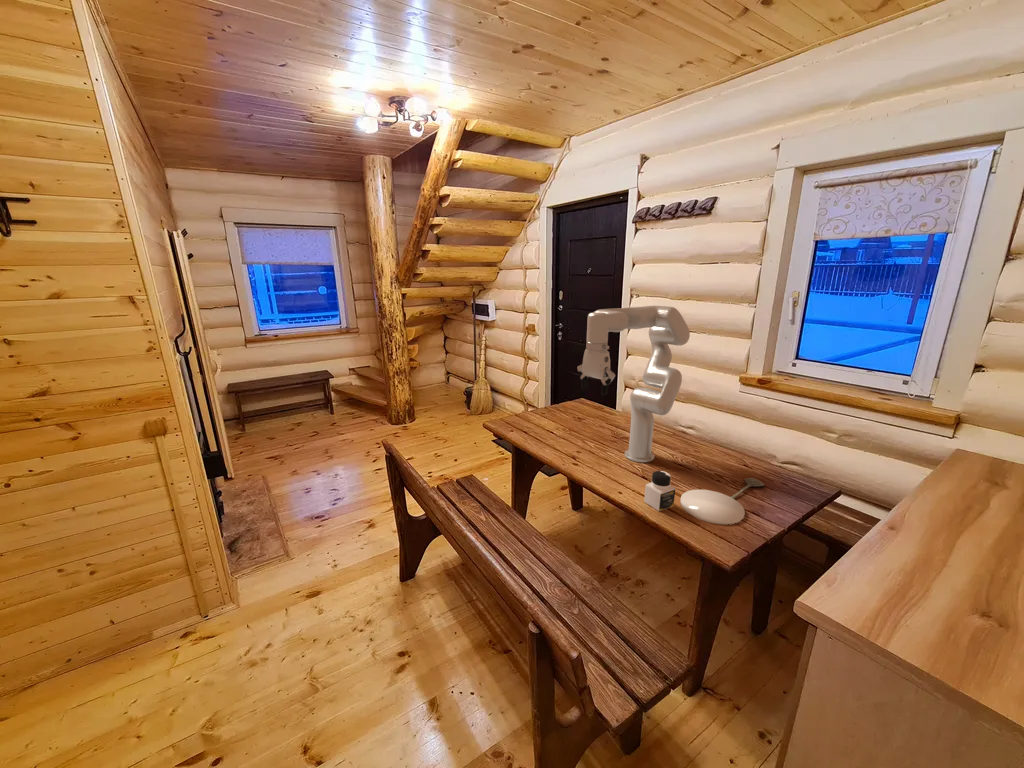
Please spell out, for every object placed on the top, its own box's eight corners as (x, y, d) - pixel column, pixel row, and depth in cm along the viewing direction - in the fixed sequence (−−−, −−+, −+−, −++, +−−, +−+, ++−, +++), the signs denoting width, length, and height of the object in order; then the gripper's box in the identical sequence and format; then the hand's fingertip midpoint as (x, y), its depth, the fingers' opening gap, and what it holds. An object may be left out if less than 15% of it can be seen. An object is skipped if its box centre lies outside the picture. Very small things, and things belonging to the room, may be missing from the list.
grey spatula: (767, 487, 155) (749, 481, 160) (768, 479, 155) (750, 473, 160) (740, 504, 143) (721, 497, 148) (741, 495, 142) (722, 488, 147)
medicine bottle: (659, 511, 138) (662, 480, 135) (643, 501, 144) (646, 471, 141) (673, 506, 141) (677, 475, 138) (658, 496, 147) (661, 467, 144)
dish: (681, 488, 153) (681, 485, 153) (741, 499, 145) (741, 496, 145) (679, 516, 135) (679, 513, 135) (747, 530, 128) (748, 527, 127)
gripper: (622, 349, 142) (619, 395, 147) (585, 342, 156) (583, 385, 160) (608, 351, 138) (605, 399, 142) (572, 344, 151) (570, 388, 156)
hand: (594, 391), depth 151 cm, fingers open, 9 cm apart
